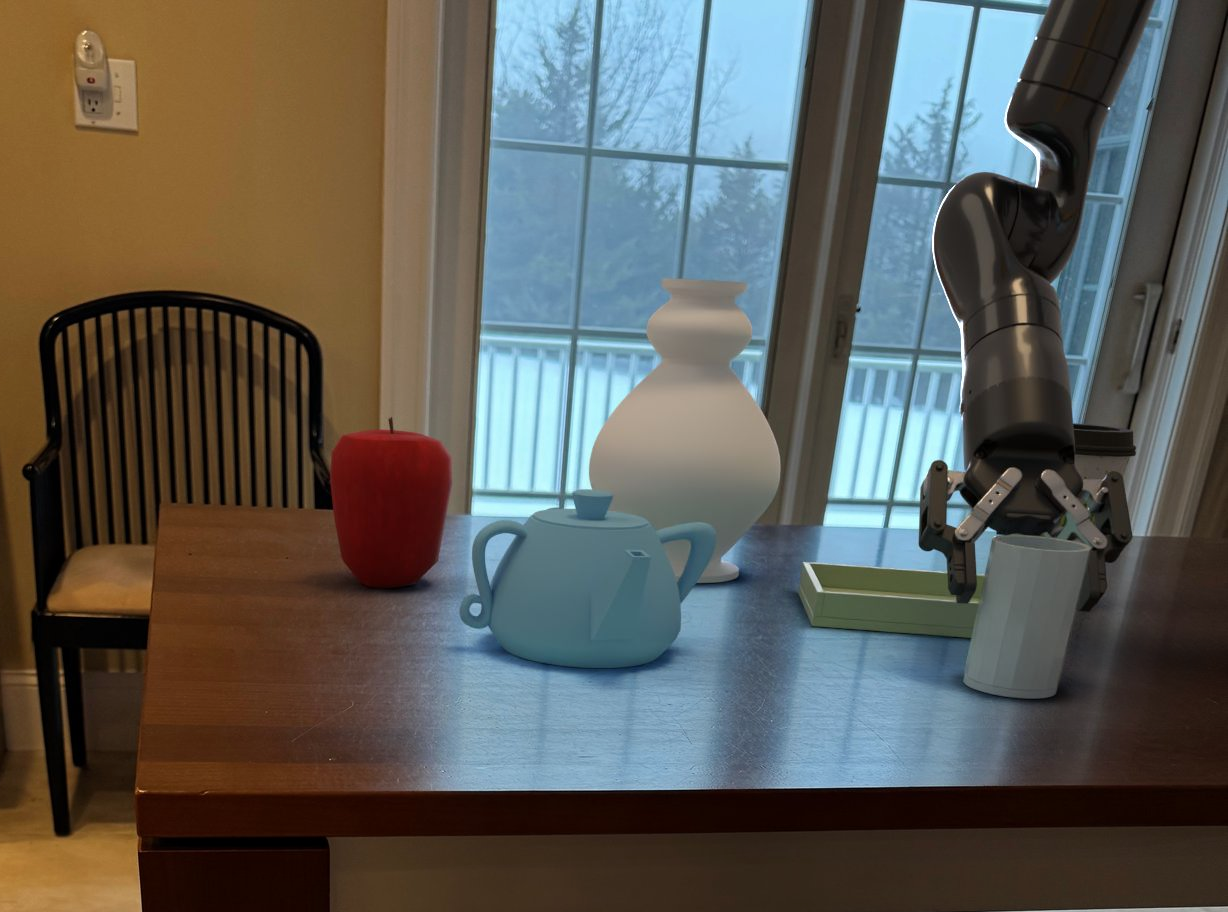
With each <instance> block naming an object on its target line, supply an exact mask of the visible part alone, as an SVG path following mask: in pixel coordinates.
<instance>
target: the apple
mask: <svg viewBox="0 0 1228 912" xmlns="http://www.w3.org/2000/svg"><path fill="white" fill-rule="evenodd" d="M387 420H388V425H389V426H388V427H389V429H367V430H359V431H355V432H350V433H346V434H343V435H341V436H340V438H339V439H338V441H337V443H336V445H335V446H334V447H333V449H332V451H331V460H330V475H329V481H330V491H331V501H332V509H333V510H332V511H333V520H334V523H335V524H334V525H335V531H336V535H337V540H338V546H339V552H340V557H341V560H342V562H343V563H344V565H345V566H346V567H347V568H348V570H349V571H350V572H351V573H352V575H353V576H354V577H355V579H356V580H357V582H358V583H360V584H361V585H364V586H367V587H371V588H376V589H390V588H391V589H392V588H393V589H394V588H400V587H406V586H412V585H414V584H416V583H418V582H419V581H420V580H421V579H422V578H423V577H424V576H425V575H426V574H427V573H428V572H429V571H430V570H431V569H432V568H433V567H434V566H435V565H436V564H437V563H438V562H439V557H440V552H441V544H442V540H443V534H444V531H445V530H444V529H445V523H446V518H447V514H448V513H447V512H448V507H449V503H450V498H451V492H452V487H453V465H452V464H453V463H452V462H453V461H452V459H453V458H452V456H451V455H450V452H449V451H448V450H447V449H446V447H445V446H444V444H443V443H442V441H441V440H439V439H436V438H434V437H431V436H428V435H425V434H423V433H419V432H414V431H406V430H398V429H397V430H396V429H394V422H393V416H391V417H389V418H388V419H387Z"/></svg>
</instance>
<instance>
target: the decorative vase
mask: <svg viewBox="0 0 1228 912" xmlns="http://www.w3.org/2000/svg"><path fill="white" fill-rule="evenodd" d="M747 288H748V282H745V281H743V282H742V281H729V280H728V281H727V280H711V279H710V280H709V279H691V278H673V277H672V278H670V277H669V278H668V277H662V278H661V289H663V290H665V291H666V292H668V293H669V294H670V299H669V300H668V301H666V302H664V304H662V305H661V306H659V308H658V309H656V310H655V311H654V312H653V314H652V315H651V316H650V317H649V319H648V320H647V321H648V322H647V324H646V330H645V331H646V337H647V339H648V341H649V343H650V345H651V346H652V347H653V349H654V351H655V352H656V353H657V354H658V355H659V356H660V357H661V362H660V363H659V364H658V365H656V367H655V368H654V369H652V370H651V372H649V373H648V374H647V375H646V376H645V377H644V378H643V379H642V380H641V381H640V382H639V383H638V384H636V386H635V387H634V388H632V390H630V392H629V393H628V394H626V396H625V397H624V398H623V399H622V400H621V402H619V404H618V405H617V406H616V408H615V409H614V410H613V411H612V412H611V414H610V415H609V417H608V418H607V420H606V421H605V422H604V424H603V425H602V427H601V429H600V430H599V432H598V434H597V436H596V438H595V440H594V443H593V446H592V449H591V453H590V457H589V464H588V478H589V479H588V480H589V484H590V489H592V490H602V491H607V492H610V493H612V494H613V498H612V502H611V504H610V506H609V508H608V511H614V512H621V513H627V514H632V515H636V516H640V517H643V518H645V519H647V520H648V521H649V522H650V523H651V525H652V526H653V528H654V530H655V531H657V530H660V529H664V528H667V527H671V526H675V525H680V524H685V523H692V522H702V523H707V524H709V525H711V526H712V527H713V528H714V529H715V531H716V535H717V539H716V545H715V549H714V552H713V555H712V557H711V560H710V562H709V564H708V565H707V567H706V569H705V570H704V572H703V573H702V575H701V576H700V578H699V579H698V581H697V582H696V584H712V583H713V584H714V583H723V582H729V581H732V580H735V579H737V578H738V577H739V573H740V568H739V567H738V566H737V565H736V564H734V563H732V562H729V561H726V560H723V559H722V558H723V557H724V556H725V555H726V554H727V553H728V552H729V551H730V550H731V549H732V548H733V547H734V546H735V545H736V544H737V543H738V542H739V541H740V540H741V538H743V536H744V535H745V534H746V533H748V531H749V530H750V529H751V528H752V527H753V526H754V525H755V524H756V523H757V521H758V520H759V519H760V518H761V517H762V515H763V514H765V512H766V511H767V509H768V508H769V507H770V505H771V504H772V502H773V500H774V499H775V497H776V495H777V492H778V489H779V485H780V480H781V456H780V450H779V446H778V444H777V440H776V438H775V435H774V432H773V431H772V428H771V426H770V423H769V422H768V419H767V417H766V416H765V414H764V412H763V411H762V409H761V407H760V406H759V404H758V403H757V402H756V400H755V398H754V397H753V396H752V394H751V392H750V391H749V390H748V388H747V387H746V385H745V384H744V383H743V382H742V380H741V379H740V377H738V375H737V374H736V373H735V371H734V370H733V368H732V367H731V361H733V360H735V359H736V358H737V357H738V356H739V355H740V354H741V353H743V351H745V349H746V348H747V347H748V346H749V345H750V343H751V341H752V337H753V326H752V323H751V321H750V318H749V317H748V316H747V314H746V313H745V312H744V311H743V309H741V308H740V307H739V306H738V305H737V304H736V303H735V301H736V298H737V297H739V296H741V295H743V294H745V293H747ZM662 545H663V548H664V550H665V552H666V554H667V556H668V559H669V561H670V563H671V566H672V569H673V571H674V574H675V577H676V581H677V582H678V580H679V578H680V576H681V574H682V573H683V570H684V568H685V565H686V563H687V560H688V557H689V554H690V549H691V543H690V541H689V540H686V539H680V540H674V541H670V542H666V543H663V544H662Z"/></svg>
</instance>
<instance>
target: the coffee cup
mask: <svg viewBox="0 0 1228 912" xmlns="http://www.w3.org/2000/svg"><path fill="white" fill-rule="evenodd" d="M1073 427H1074V440H1075V467H1076V469H1077V471H1078V473H1079V474H1080V475H1081V477H1082V479H1104V478H1105V477H1106V475H1107V474H1108V473H1109V472H1111V471H1116V472H1119V473H1120V474H1121V475H1122V476H1123V477H1124V476H1125V472H1126V470H1127V467H1128V464H1129V461H1130V458H1131V457H1135V456H1136V455H1137V446H1136V445H1134V430H1132V429H1128V428H1123V427H1115V426H1109V425H1108V426H1107V425H1101V424H1100V425H1099V424H1087V423H1075V422H1073ZM1077 499H1078V500H1079V501H1080V502H1081V504H1082V505H1083V506H1084V507H1085V508H1086V509H1087V510H1088V506H1087V503H1086V502H1085V501H1084V500H1083V499H1081V498H1077ZM1090 521H1091V522H1092V523H1093V524H1094V525H1095V526H1096V524H1095V517H1094V513H1090ZM1058 523H1059V524H1060V525H1061V526H1062V527H1063V528H1064V526H1065V525H1066V523H1067V519H1066V516H1065V515H1063V516H1062V518H1061V519H1060V520H1059V521H1058ZM1013 535H1022V534H1018V533H1017V534H1013ZM1041 536H1042V537H1045V536H1044V535H1043V534H1041ZM1079 539H1080V538H1079ZM1080 540H1081V539H1080ZM1081 541H1082V540H1081ZM1082 542H1083V541H1082ZM1083 543H1084V542H1083ZM1084 544H1085V543H1084Z"/></svg>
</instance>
